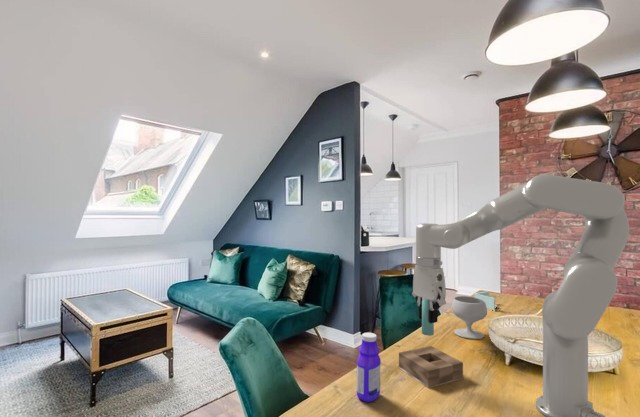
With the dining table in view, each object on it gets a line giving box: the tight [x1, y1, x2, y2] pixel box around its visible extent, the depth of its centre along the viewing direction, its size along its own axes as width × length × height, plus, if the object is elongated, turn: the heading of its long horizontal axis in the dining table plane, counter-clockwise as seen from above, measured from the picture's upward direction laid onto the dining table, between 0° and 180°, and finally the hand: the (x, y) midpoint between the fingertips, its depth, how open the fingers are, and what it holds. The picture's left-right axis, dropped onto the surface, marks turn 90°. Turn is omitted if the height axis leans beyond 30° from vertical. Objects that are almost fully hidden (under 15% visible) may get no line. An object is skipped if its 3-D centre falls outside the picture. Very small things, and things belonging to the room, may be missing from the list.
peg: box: [421, 297, 435, 337], centre depth 106 cm, size 4×4×12 cm
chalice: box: [451, 295, 488, 340], centre depth 143 cm, size 14×14×15 cm
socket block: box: [397, 345, 465, 389], centre depth 109 cm, size 14×14×5 cm
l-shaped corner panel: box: [473, 290, 499, 311], centre depth 186 cm, size 12×12×8 cm
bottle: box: [356, 332, 382, 403], centre depth 94 cm, size 7×6×17 cm
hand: (427, 319), depth 106 cm, fingers closed on peg, 3 cm apart
